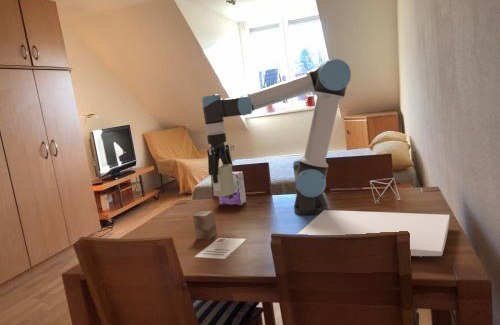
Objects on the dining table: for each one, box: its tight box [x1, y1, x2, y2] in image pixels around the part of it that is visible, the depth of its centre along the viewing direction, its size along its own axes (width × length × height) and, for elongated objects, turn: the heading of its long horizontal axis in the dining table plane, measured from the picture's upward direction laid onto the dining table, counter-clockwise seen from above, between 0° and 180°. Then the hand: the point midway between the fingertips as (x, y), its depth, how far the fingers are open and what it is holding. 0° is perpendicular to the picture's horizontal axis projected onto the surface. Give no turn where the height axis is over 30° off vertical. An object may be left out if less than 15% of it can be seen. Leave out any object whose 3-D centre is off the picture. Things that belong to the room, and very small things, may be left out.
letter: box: [194, 237, 247, 260], centre depth 141 cm, size 12×18×1 cm, turn 156°
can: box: [210, 163, 236, 197], centre depth 160 cm, size 9×9×12 cm
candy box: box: [217, 171, 247, 206], centre depth 201 cm, size 14×6×16 cm, turn 58°
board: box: [297, 209, 451, 258], centre depth 132 cm, size 45×32×5 cm
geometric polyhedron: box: [369, 177, 401, 204], centre depth 173 cm, size 12×11×9 cm
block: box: [192, 210, 218, 241], centre depth 154 cm, size 6×6×10 cm
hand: (223, 187), depth 161 cm, fingers closed on can, 9 cm apart
